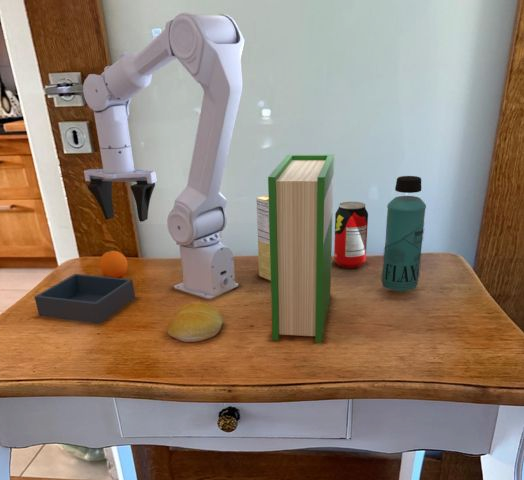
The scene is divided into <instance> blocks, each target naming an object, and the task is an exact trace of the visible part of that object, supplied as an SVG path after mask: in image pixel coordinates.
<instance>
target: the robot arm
mask: <svg viewBox="0 0 524 480" xmlns="http://www.w3.org/2000/svg"><path fill="white" fill-rule="evenodd" d="M244 45H245V38H244V36H243V33H242V32H241V30H240V28H239V26H238V24H237V22H236V21H235V19H234V18H232V17H231V16H230V15H228V14H225V13H221V14H220V13H219V14H196V13H195V14H193V13H189V12H181V13H179V14H177V15H176V16H174V18H173V19H170V20H168V21H166V23H165V27H164V29H163V30H162V31H161V32H160V33H159V34H157V36H156V37H154V39H152V40H151V41H150V42H149V43H148V44H147V46H145V47H144V48H143V49H142V50H141V51H139V53H137V52H133V51H122V52H121V53H119V54H118V58H119V59H118V60H116V61H115V62H114V63H113V64H111V65H107V66H105V67H104V68H103V70H104V71H103V72H102V73H101V74H96V73H89V74H88V75H87V77H86V78H85V79H84V81H83V86H82V92H83V98H84V100H85V103H86V105H87V106H88V107H89V108H90V109H91V110H92V111H93V115H94V123H95V128H96V134H97V140H98V145H99V151H100V157H101V164H102V168H89V169H86V170H83V174H84V181H85V182H90V183H89V184H87V189H88V191H89V192H90V193H91V194H92V196H93V197H94V198H95V200H96V203H98V205H99V207H100V210H101V211H102V214H103V216H104V219H105V220H108V221H109V220H110V219H113V218H115V210H114V204H113V182H120V183H121V182H123V183H135V184H132V185H130V190H131V192H132V195H133V197H134V201H135V204H136V210H137V212H136V213H137V216H138V221H139V222H140V223H141V222H142V223H143V222H145V221H147V220H148V219H149V208H150V202H151V198H152V195H153V192H154V189H155V186H156V182H158V179H157V171H156V170H145V169H139V168H135V164H134V163H135V162H134V156H133V150H132V148H133V147H132V141H131V135H130V127H129V121H128V119H129V118H130V105H131V102H132V98H133V97H134V96H136V95H137V94H139V93H140V92H142V91H143V90H145V89H146V88H147V87H149V86H150V85H151V82H152V78H153V74H154V73H156V72H157V71H159V70H161V69H162V68H164V67H165V66H167V65H168V64H170V63H171V62H173V61H175V60H178V62H179V63H180V64H181V65H182V66H183V68H184V69H185V70H186V71H187V73H189V74H190V76H191V77H192V78H193V79H194V81H196V83H197V84H198V83H199V84H200V87H201V88H202V90H203V96H202V102H201V107H200V113H199V118H198V124H197V129H196V134H195V140H194V146H193V150H192V151H193V152H192V157H191V163H190V168H189V174H188V177H187V183H186V187H185V188H184V189H183V190H182V191H181V193H179V195H178V196H177V197H176V198H175V200H174V204H173V208H172V210H170V211H169V213H168V215H167V220H166V225H167V230H168V234H169V235H170V237H171V238H172V239H173V240H174V242H175V244H176V245H177V246H179V253H180V262H181V273H182V280H183V281H182V282H180V283H177V284H175V285H174V286H173V289H175V290H177V291H181V292H184V293H187V294H190V295H194V296H197V297H201V298H203V299H207V300H211V299H214V298H216V297H219V296H220V295H223V294H224V293H227V292H229V291H231V290H234V289H235V288H237V287H239V283H238V282H236V274H235V258H234V253H233V251H232V249H231V248H229V247H228V246H226V245H224V244H223V243H222V242H221V240H220V239H221V238H222V232H223V230H225V228H226V226H227V221H228V218H227V210H226V208H227V202H228V200H227V199H226V197H225V196H224V194H222V192H220V190H221V186H222V181H223V177H224V172H225V168H226V163H227V160H228V154H229V151H230V146H231V142H232V138H233V137H232V136H233V132H234V128H235V124H236V119H237V116H238V115H237V114H238V111H239V107H240V101H241V97H242V92H243V85H244V84H243V72H242V60H241V58H242V54H243V50H244Z"/></svg>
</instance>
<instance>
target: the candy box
mask: <svg viewBox="0 0 524 480" xmlns="http://www.w3.org/2000/svg"><path fill="white" fill-rule="evenodd" d="M256 224H257V225H256V227H257V254H258V256H257V257H258V276H259V277H260V278H263V279H266V280H267V281H270V282H271V267H270V230H269V194H266V195H263V196H259V197H256Z"/></svg>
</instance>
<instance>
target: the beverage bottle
mask: <svg viewBox="0 0 524 480" xmlns="http://www.w3.org/2000/svg"><path fill="white" fill-rule="evenodd" d="M394 190H395V192H398V193H403V194H414V193H415V194H416V193H420V192H422V178H421V177H420V176H417V175H401V176H398V177H397V178H396V183H395V187H394ZM386 207H387V214H386V224H385V241H384V248H383V253H382V254H383V260H382V264H381V266H382V267H381V275H380V276H381V277H380V280H381V284H382V287H383V288H385V289H387V290H389V291H394V292H408V291H412V290H414V289H416V288H417V286H418V284H419V281H420V280H419V279H420V275H421V274H420V273H421V271H420V267H421V263H422V261H421V257H422V247H423V246H422V245H423V240H424V235H425V226H426V225H425V215H426V209H427V205H426V203H425V202H424V200H422V198H421V197H418V196H415V195H400V196H396V197H394V198H393V199H392V200H390V201H389V202H388V204H387V205H386Z"/></svg>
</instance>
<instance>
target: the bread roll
mask: <svg viewBox="0 0 524 480" xmlns="http://www.w3.org/2000/svg"><path fill="white" fill-rule="evenodd" d="M223 323H224V321H223V317H222V315H221V312H220V311H219V310H218V309H217V308H216V307H214V306H212V305H211V304H209V303H206V302H200V301H199V302H195V301H193V302H189V303H187V304H184V305H182V306H181V307H180V308H178V309H177V310H176V311H175V312H174V314H173V317H172V318H171V319H170V320H169V321H168V322H167V325H166V332H167V334H168V335H169V336H171V337H172V338H173V339H175V340H178V341H180V342H185V343H196V342H202V341H205V340H208V339H211V338H213V337H215V336H216V335H217V334H218V333H219V332H220V330H221V329H222V325H223Z"/></svg>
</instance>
